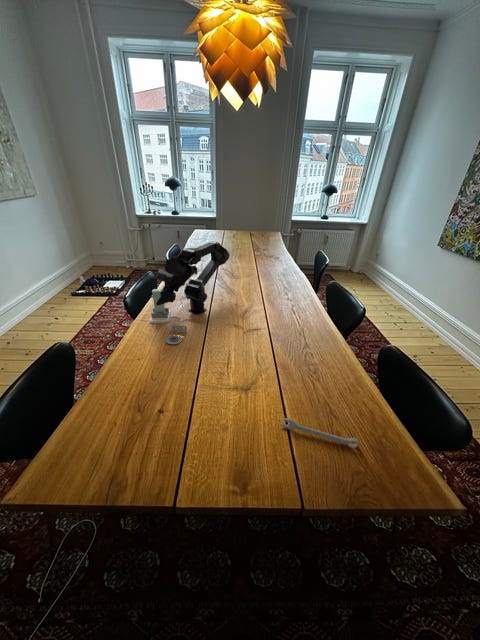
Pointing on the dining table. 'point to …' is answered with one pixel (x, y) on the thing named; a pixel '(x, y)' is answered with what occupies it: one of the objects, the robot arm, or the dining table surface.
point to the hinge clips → (160, 316)
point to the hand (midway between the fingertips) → (158, 300)
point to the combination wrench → (319, 433)
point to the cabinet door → (156, 297)
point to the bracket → (177, 339)
